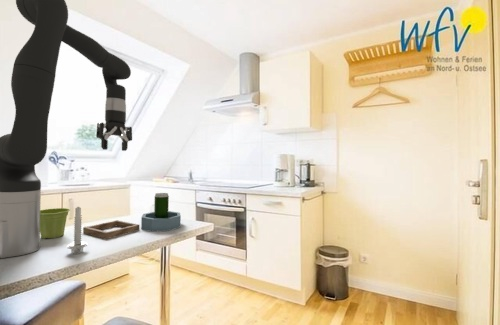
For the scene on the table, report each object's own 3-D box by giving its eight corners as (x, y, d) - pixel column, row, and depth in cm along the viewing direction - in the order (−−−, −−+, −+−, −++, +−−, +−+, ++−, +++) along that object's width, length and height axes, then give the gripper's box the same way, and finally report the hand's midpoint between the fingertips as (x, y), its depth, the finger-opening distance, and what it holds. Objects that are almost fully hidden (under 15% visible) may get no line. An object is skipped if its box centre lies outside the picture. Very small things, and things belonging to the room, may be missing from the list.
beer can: (157, 226, 99) (158, 195, 99) (151, 223, 103) (152, 193, 103) (170, 223, 103) (171, 194, 103) (164, 221, 107) (165, 192, 106)
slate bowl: (160, 233, 93) (160, 220, 93) (133, 227, 100) (134, 215, 100) (187, 224, 106) (187, 213, 106) (162, 220, 113) (162, 210, 113)
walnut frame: (106, 239, 85) (106, 233, 85) (83, 232, 91) (83, 227, 91) (139, 230, 96) (139, 224, 96) (117, 225, 102) (117, 220, 102)
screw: (90, 249, 75) (80, 255, 70) (73, 249, 75) (62, 255, 70) (91, 205, 75) (81, 208, 70) (74, 204, 75) (63, 208, 70)
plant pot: (41, 242, 80) (41, 214, 80) (29, 237, 85) (29, 211, 85) (74, 235, 88) (75, 210, 88) (61, 230, 93) (62, 207, 93)
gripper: (104, 106, 97) (103, 149, 98) (136, 113, 110) (135, 151, 110) (92, 108, 101) (92, 149, 101) (125, 114, 114) (124, 150, 114)
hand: (114, 150), depth 106 cm, fingers open, 8 cm apart
